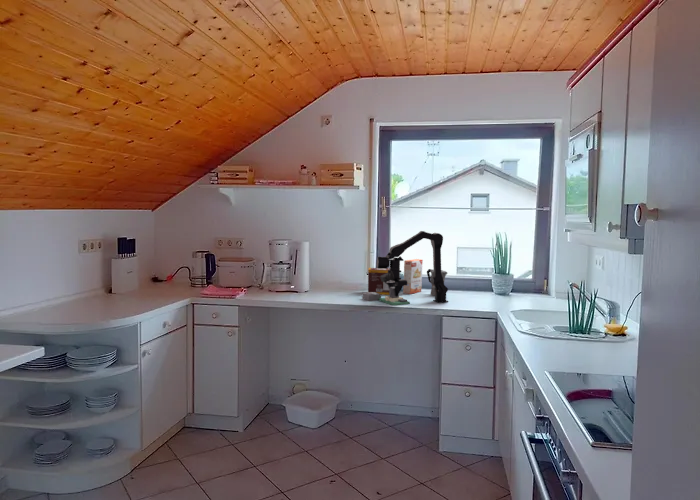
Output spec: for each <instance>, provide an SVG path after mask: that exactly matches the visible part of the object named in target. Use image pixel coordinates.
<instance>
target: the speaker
mask: <svg viewBox="0 0 700 500" xmlns="http://www.w3.org/2000/svg"><path fill="white" fill-rule="evenodd" d="M361 297H362V300H364V301H367V302H375V301H379V298H382V295H381V294H379V293H376V292H368V291H367V292H362V294H361Z"/></svg>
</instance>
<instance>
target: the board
mask: <svg viewBox="0 0 700 500" xmlns="http://www.w3.org/2000/svg"><path fill="white" fill-rule="evenodd" d="M378 301H380V302H382V303H386V304H388V305H391V306H402V305H410V304H411V301H409V300H408V299H405V298H404V297H402V296H400V295H399V298H390V297H389V295H384V297H381V298H379V300H378Z"/></svg>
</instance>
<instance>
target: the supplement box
mask: <svg viewBox="0 0 700 500" xmlns="http://www.w3.org/2000/svg"><path fill="white" fill-rule="evenodd" d="M388 270H390V267H388V268H387V269H377V267H368V271H367V273H368V274H367V275H368V276H367V292H376V293H379V294H381V296H389V287H388V285H387V284H386V283H385V282H382V281H381V278H380V276H382V275H384V274H386V273H388Z"/></svg>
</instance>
